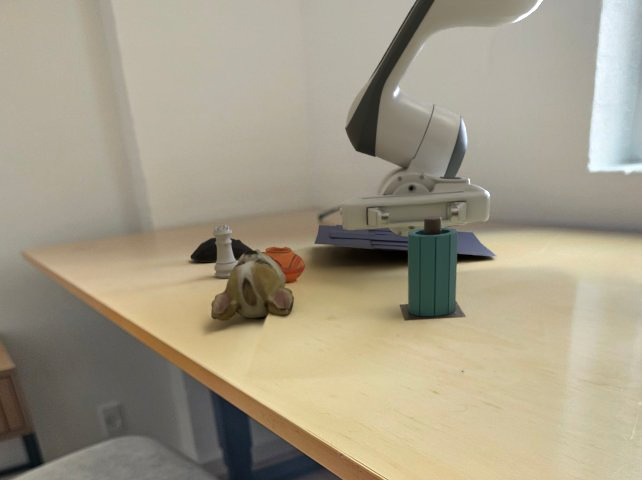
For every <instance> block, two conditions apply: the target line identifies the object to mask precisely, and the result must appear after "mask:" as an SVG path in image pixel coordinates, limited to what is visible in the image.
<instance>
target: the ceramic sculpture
mask: <svg viewBox="0 0 642 480" xmlns="http://www.w3.org/2000/svg"><path fill="white" fill-rule="evenodd" d="M262 252H263V251H261V250H260V249H258V248H256V249H255V250H253V249H252V250H248V251H246V252H245V253H244V254H243V255H242V256H241V257H240V258H239V259H237V260H238V261H237V265H236V266H235V267H234V268H233V270H232V271H231V274H230V275H229V278H227V283H226V287H225V290H224V291H222V292H220V293H218V294H215V296H214V299H213V300H212V302H211V309H210V311H211V313H210V314H211V315H210V317H211V319H212V320H217V321H221V322H223V321H229V320H231V319H232V318H233V317H235V315H236V314H238V315H240V316H242V317H244V318H250V319H255V318H263V317H266V316H268V315H269V313H271V314H272V315H276V316H286V315H288V314H290V313H291V312H292V311H293V309H294V303H295V297H294V294H293V291H292V290H291V289H290V288H289V287H286V283H285V281H286V280H285V275H284V273H283V272H282V271H281V269H280V268H279V266H278V265H277V263H275V262H274V261H273V260H272V259H271V257H269V256H267V255H265V254H264V253H262Z"/></svg>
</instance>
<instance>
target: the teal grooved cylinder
mask: <svg viewBox="0 0 642 480" xmlns="http://www.w3.org/2000/svg"><path fill="white" fill-rule="evenodd" d="M457 231H458V230H457V229H456V228H451V227H445V228H441V234H439V235H424V229H418V230H414V231H411V232H408V251H407V304H408V310H409V313H410V314H414V315H417V316H431V317H433V316H441V315H447V314H450V313H452V312H454V311H455V304H456V301H457V300H456V299H457V266H458V254H457V238H458V232H459V231H458V232H457Z"/></svg>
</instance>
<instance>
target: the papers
mask: <svg viewBox="0 0 642 480" xmlns="http://www.w3.org/2000/svg"><path fill="white" fill-rule="evenodd" d="M456 231H457V232H458V238H457V255H470V256H471V255H472V256H485V257H486V256H487V257H497V255H496V254H495V253H494V252H493V251H491V250H490V249H489V248H488V247H487V246H485V245H484V244H482V243H481V240H479V238H477V236H476V235H475V234H474V232H473V231H469V232H468V231H458V230H456ZM314 245H325V246H333V247H343V248H355V249H359V250H376V251H390V252H391V251H392V252H408V237H404V236H400V235H397V234H395V233H394V232H392V231H391V230H390V229H389V228H378V229H363V230H345V229H343V225H342V224H336V225H329V224H328V225H325V224H319V225H318V229H317V234H316V237H315V241H314Z"/></svg>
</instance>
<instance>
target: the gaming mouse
mask: <svg viewBox="0 0 642 480" xmlns="http://www.w3.org/2000/svg"><path fill="white" fill-rule="evenodd" d="M230 240H231V241H232V242H231V248H232V252H233V255H234V258H235V259H236V260H239V258H240V257H241V256H242V255H243V254H244V253H245V252H246V251H248V250H253V249H252V248H250V247H249V246H248V245H246V244H245V243H244V242H242V240H241V239H235V238H231V237H230ZM215 242H216V238H215V237H210V238H209V239H207V240H205V241H203V242H202V243H200V244H199V245H198V247H197V248H195V250H194V251H193V252H192V253H191V255H190V260H193V261H196V262H200V263H212V262H215V263H216V261H217V245H216V244H215ZM261 252H262V253H264V252H265V251H261Z"/></svg>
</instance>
